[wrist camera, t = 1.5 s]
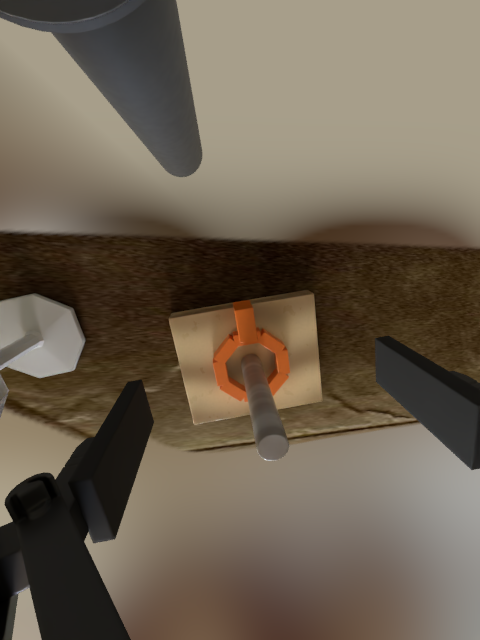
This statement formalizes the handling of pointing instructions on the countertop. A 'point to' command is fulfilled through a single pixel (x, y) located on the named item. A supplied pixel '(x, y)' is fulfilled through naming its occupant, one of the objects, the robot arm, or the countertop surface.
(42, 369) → the wineglass
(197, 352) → the board
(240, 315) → the ring
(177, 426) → the countertop surface
